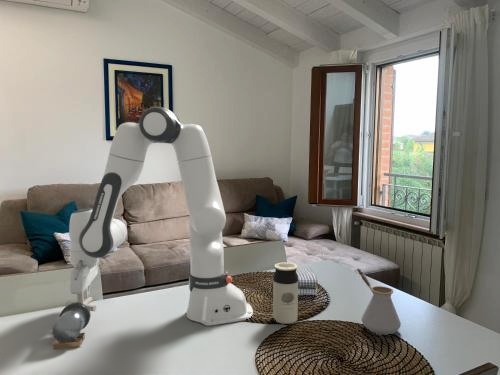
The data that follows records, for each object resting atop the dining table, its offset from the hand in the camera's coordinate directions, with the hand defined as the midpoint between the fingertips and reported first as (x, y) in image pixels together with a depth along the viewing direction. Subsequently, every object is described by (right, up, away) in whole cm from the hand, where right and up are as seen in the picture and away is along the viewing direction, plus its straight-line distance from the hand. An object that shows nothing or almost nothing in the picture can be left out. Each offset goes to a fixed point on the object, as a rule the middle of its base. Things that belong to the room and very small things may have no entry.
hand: (85, 297), depth 130 cm
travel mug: (+67, -7, -3) cm, 67 cm away
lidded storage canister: (+3, -8, -17) cm, 19 cm away
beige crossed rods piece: (+1, -7, -4) cm, 8 cm away
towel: (+74, -4, +26) cm, 78 cm away
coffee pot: (+95, -7, -5) cm, 95 cm away
